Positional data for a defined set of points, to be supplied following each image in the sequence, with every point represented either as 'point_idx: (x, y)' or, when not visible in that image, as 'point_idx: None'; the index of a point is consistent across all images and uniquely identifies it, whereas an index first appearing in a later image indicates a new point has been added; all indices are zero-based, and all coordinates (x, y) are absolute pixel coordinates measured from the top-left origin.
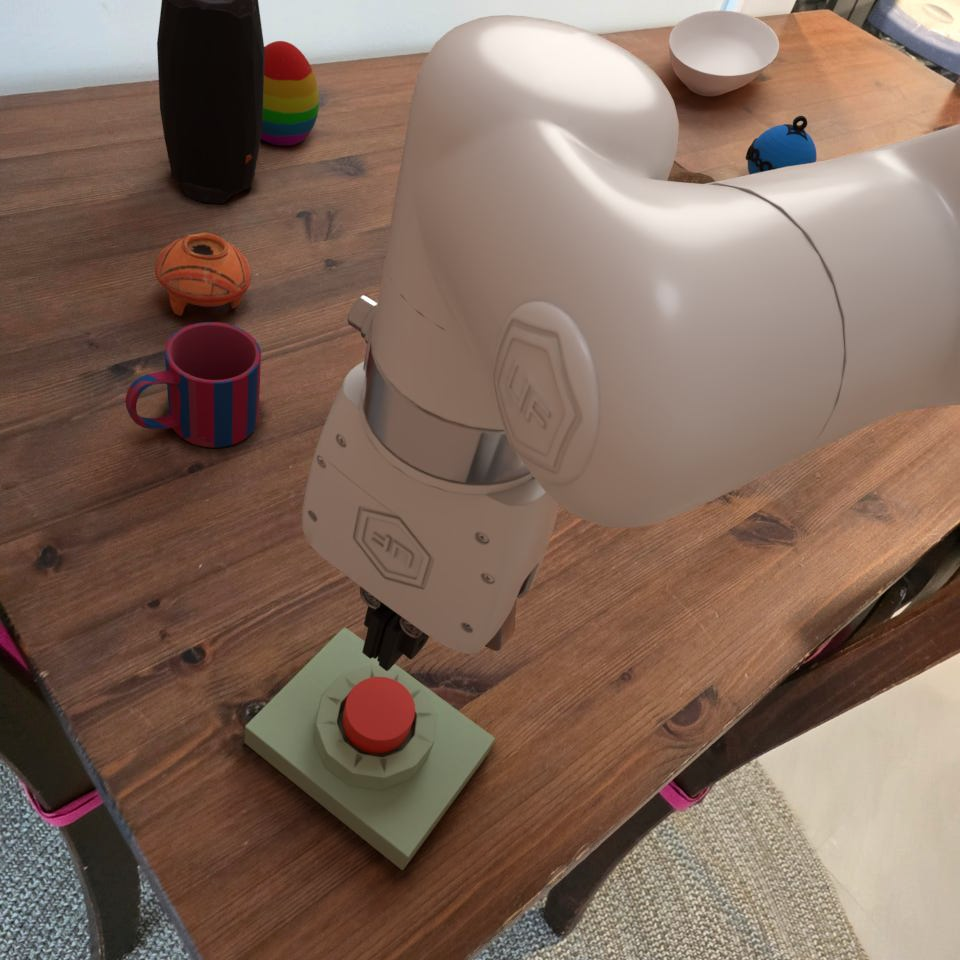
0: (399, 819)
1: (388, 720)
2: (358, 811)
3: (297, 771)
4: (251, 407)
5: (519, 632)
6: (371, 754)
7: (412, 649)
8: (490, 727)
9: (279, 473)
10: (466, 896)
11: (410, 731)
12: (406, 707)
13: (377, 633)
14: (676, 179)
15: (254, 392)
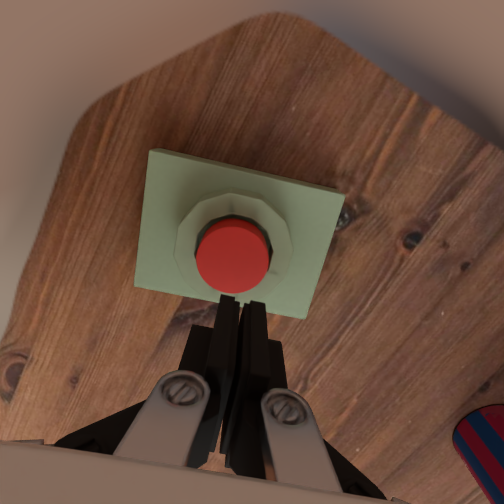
0: (174, 179)
1: (218, 253)
2: (211, 169)
3: (281, 179)
4: (476, 463)
5: None
6: None
7: (187, 342)
8: (152, 294)
9: (416, 412)
10: (98, 152)
11: None
12: (209, 273)
13: (250, 342)
14: None
15: (485, 482)
